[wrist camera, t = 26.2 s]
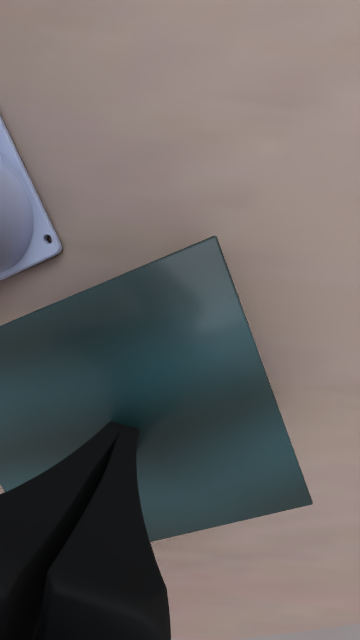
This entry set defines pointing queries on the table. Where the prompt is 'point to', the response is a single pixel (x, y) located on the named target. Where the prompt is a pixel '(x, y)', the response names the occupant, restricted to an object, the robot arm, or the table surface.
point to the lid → (153, 393)
